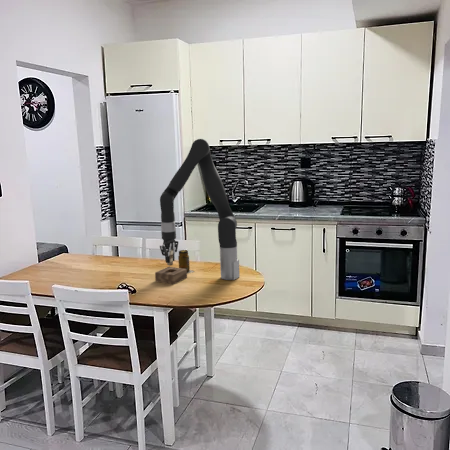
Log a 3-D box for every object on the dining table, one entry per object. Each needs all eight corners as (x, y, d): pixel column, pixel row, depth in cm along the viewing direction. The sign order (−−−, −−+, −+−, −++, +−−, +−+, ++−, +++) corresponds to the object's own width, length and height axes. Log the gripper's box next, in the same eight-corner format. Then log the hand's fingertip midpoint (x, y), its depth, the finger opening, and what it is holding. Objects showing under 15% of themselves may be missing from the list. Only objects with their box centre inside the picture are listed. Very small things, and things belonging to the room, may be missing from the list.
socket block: (187, 277, 232) (186, 269, 231) (173, 284, 222) (173, 275, 221) (169, 275, 238) (168, 266, 237) (155, 281, 228) (155, 272, 227)
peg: (174, 264, 230) (174, 249, 228) (170, 265, 226) (170, 251, 225) (169, 263, 231) (168, 249, 230) (165, 265, 228) (164, 250, 227)
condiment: (186, 268, 250) (185, 248, 248) (194, 271, 243) (193, 251, 241) (175, 271, 245) (174, 251, 243) (183, 274, 239) (182, 253, 237)
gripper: (165, 233, 217) (167, 266, 221) (182, 228, 230) (183, 259, 233) (154, 232, 221) (156, 264, 224) (170, 227, 233) (172, 257, 236)
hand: (170, 261), depth 229 cm, fingers closed on peg, 3 cm apart
